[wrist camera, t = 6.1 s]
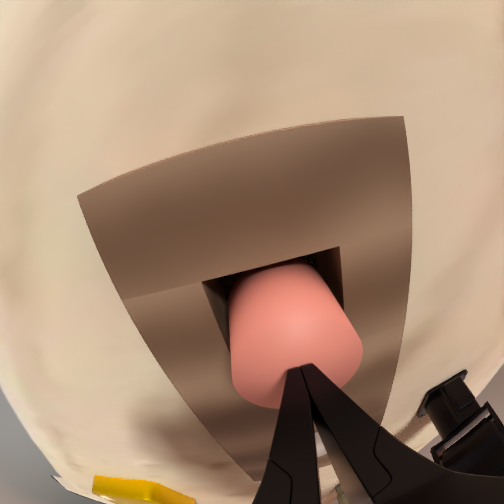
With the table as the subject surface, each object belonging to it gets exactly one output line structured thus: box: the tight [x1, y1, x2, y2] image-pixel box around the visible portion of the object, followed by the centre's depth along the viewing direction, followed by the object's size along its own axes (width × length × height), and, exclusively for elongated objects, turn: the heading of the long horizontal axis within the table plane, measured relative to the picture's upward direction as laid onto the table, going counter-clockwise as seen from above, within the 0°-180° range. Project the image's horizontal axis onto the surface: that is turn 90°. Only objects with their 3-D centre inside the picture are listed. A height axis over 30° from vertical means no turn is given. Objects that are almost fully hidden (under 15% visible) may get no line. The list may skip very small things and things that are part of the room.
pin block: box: [77, 116, 412, 481], centre depth 16 cm, size 28×12×4 cm, turn 14°
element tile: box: [92, 475, 195, 504], centre depth 30 cm, size 15×15×5 cm
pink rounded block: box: [228, 258, 363, 409], centre depth 10 cm, size 4×4×4 cm
